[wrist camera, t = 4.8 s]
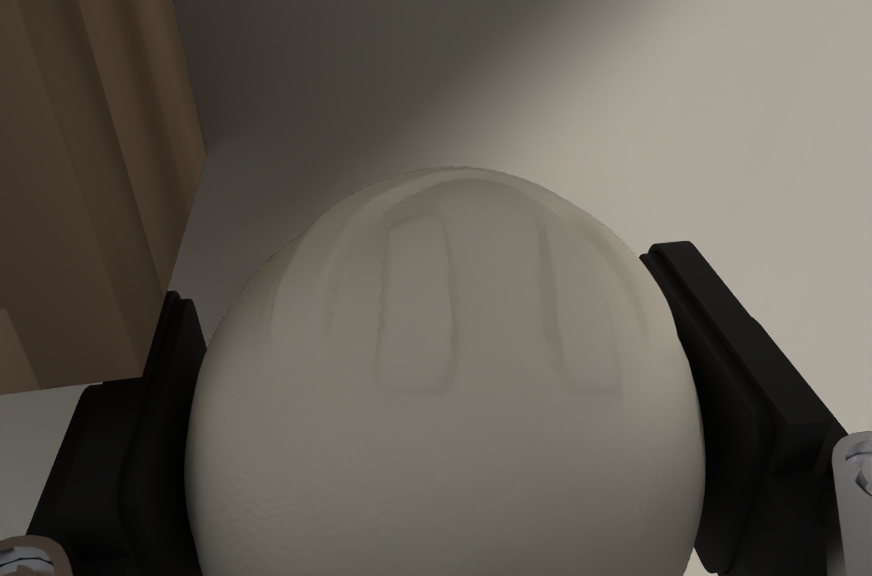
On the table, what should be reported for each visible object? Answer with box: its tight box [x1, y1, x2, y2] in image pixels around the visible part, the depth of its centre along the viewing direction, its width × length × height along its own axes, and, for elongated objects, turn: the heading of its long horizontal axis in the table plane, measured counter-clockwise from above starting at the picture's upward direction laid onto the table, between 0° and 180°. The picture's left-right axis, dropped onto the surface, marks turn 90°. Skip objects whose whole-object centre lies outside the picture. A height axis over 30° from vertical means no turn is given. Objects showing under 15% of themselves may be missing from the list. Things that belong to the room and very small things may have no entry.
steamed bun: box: [184, 167, 706, 576], centre depth 10 cm, size 7×7×7 cm
